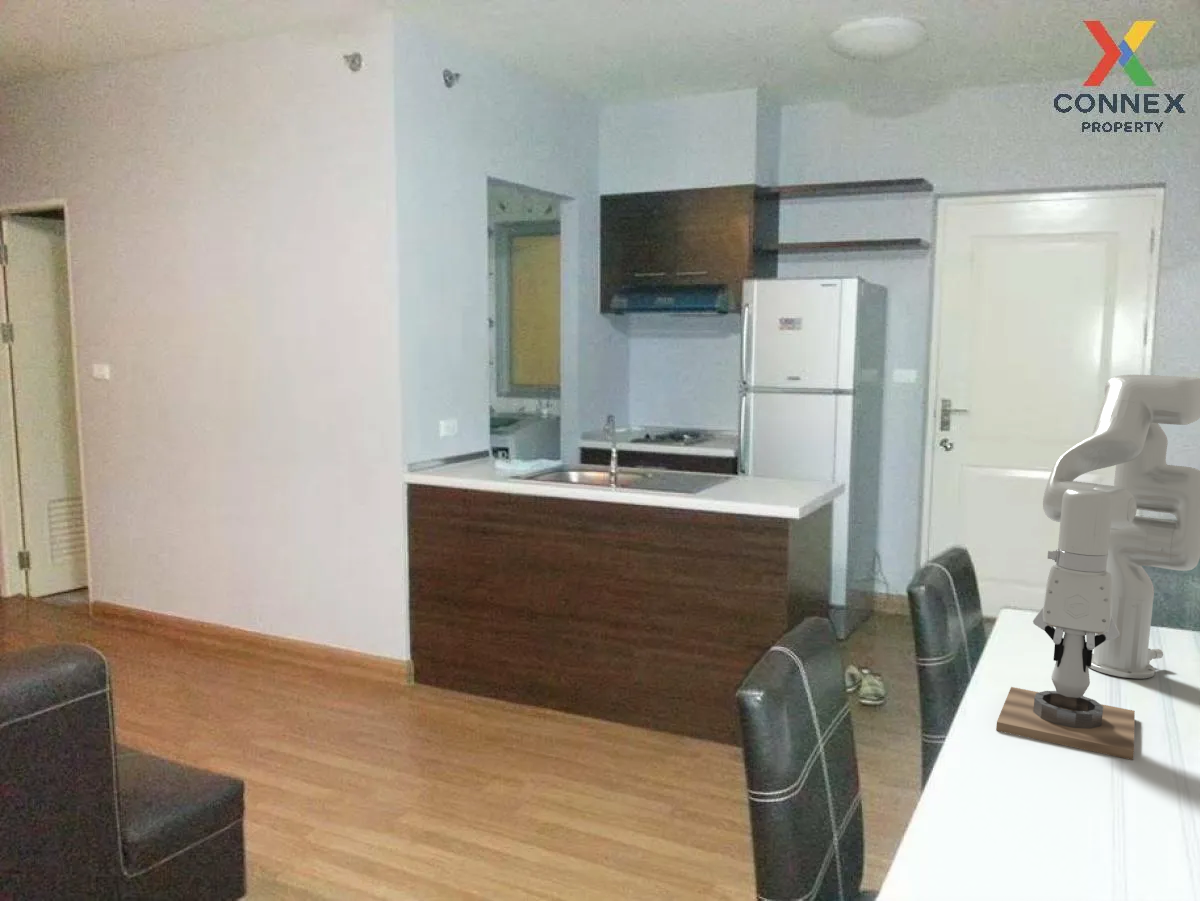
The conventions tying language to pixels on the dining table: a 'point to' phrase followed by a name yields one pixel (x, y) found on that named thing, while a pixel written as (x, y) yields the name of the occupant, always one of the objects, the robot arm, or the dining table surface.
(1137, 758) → the dining table surface
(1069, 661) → the salt shaker
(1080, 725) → the collar
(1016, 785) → the dining table surface
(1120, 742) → the board
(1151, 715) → the dining table surface
